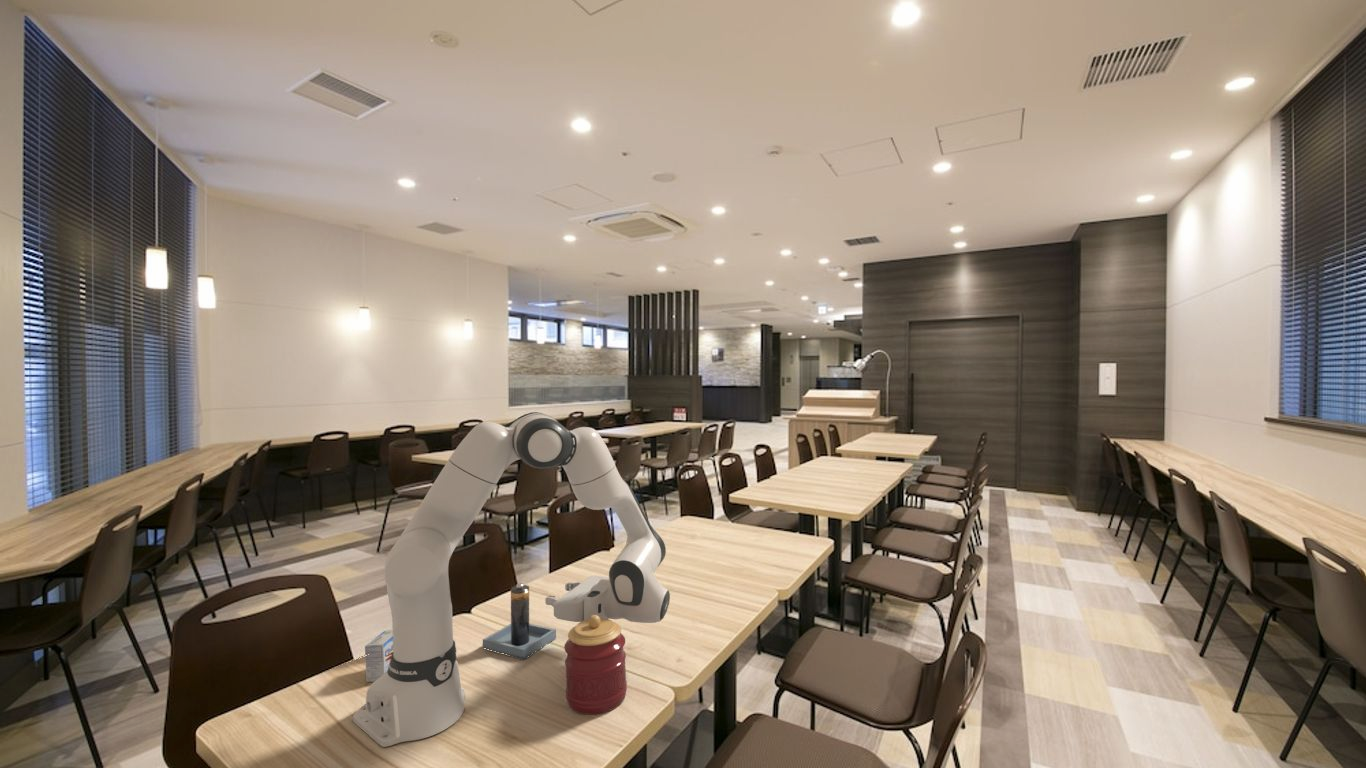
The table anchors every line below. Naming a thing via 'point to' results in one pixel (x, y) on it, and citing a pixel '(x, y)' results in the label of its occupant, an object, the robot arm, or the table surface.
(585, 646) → the canister
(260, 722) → the table surface
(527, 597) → the battery cell
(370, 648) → the medicine box
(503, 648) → the tray
